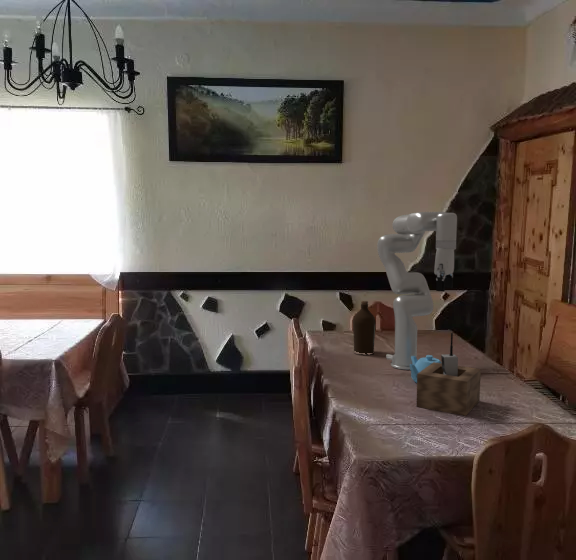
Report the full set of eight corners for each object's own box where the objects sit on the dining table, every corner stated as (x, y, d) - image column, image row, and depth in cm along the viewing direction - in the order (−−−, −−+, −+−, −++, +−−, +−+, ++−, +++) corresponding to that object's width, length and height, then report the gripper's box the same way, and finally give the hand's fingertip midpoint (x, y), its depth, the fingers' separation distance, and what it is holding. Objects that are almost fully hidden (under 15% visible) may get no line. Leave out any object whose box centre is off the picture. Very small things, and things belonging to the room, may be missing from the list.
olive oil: (356, 356, 279) (357, 303, 276) (349, 350, 290) (350, 300, 286) (378, 355, 282) (379, 302, 278) (370, 349, 292) (371, 299, 289)
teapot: (407, 385, 236) (407, 359, 235) (410, 374, 250) (411, 349, 249) (447, 389, 232) (448, 362, 230) (448, 377, 246) (449, 352, 245)
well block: (416, 406, 212) (417, 373, 211) (432, 392, 227) (433, 362, 225) (465, 415, 203) (467, 381, 201) (479, 401, 218) (480, 369, 216)
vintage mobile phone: (439, 399, 217) (441, 331, 213) (453, 399, 217) (455, 331, 214) (442, 402, 213) (444, 334, 210) (456, 402, 213) (459, 333, 210)
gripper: (443, 243, 238) (442, 285, 240) (428, 246, 224) (427, 291, 226) (462, 244, 234) (460, 287, 236) (448, 247, 220) (447, 293, 222)
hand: (444, 289), depth 231 cm, fingers open, 9 cm apart
